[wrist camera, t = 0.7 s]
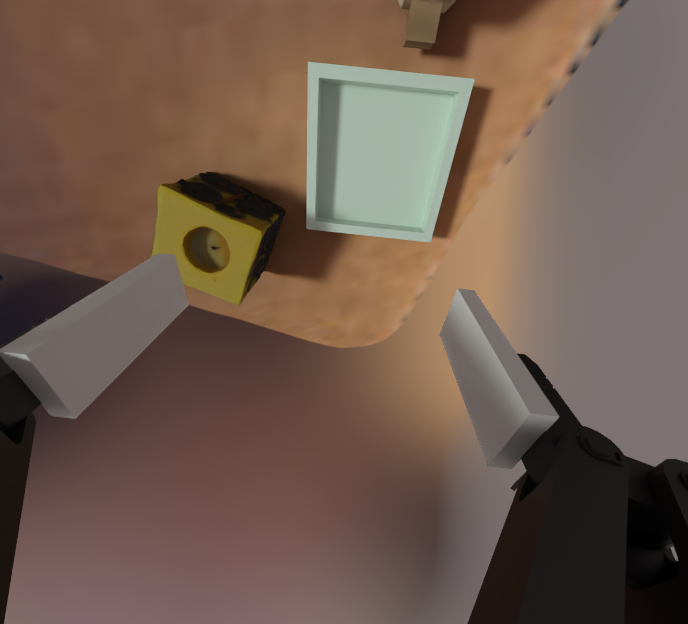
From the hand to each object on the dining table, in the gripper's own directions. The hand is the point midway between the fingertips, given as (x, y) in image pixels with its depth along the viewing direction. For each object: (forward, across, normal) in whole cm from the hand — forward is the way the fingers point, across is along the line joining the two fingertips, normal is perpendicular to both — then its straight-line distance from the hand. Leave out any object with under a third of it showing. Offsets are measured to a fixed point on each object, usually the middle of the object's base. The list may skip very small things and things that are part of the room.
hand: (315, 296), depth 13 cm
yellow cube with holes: (+24, -14, -5) cm, 28 cm away
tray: (+24, +3, +4) cm, 25 cm away
